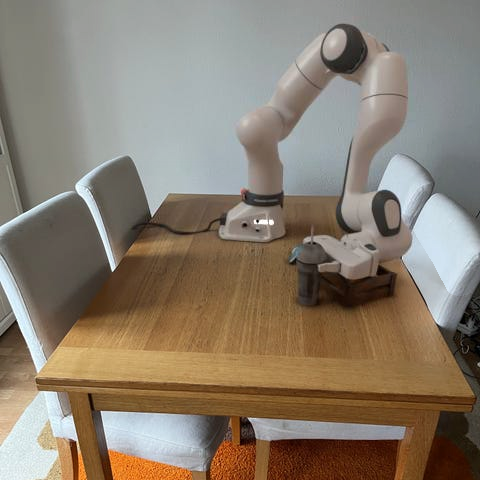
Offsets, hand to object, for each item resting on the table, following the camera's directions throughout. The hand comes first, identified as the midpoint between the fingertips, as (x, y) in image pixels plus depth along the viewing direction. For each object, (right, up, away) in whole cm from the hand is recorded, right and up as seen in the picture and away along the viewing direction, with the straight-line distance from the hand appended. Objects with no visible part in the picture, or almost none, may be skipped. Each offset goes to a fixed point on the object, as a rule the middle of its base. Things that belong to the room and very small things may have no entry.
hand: (307, 261), depth 113 cm
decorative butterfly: (+3, +4, +28) cm, 28 cm away
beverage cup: (+1, -9, +6) cm, 11 cm away
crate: (+13, -6, +11) cm, 19 cm away
